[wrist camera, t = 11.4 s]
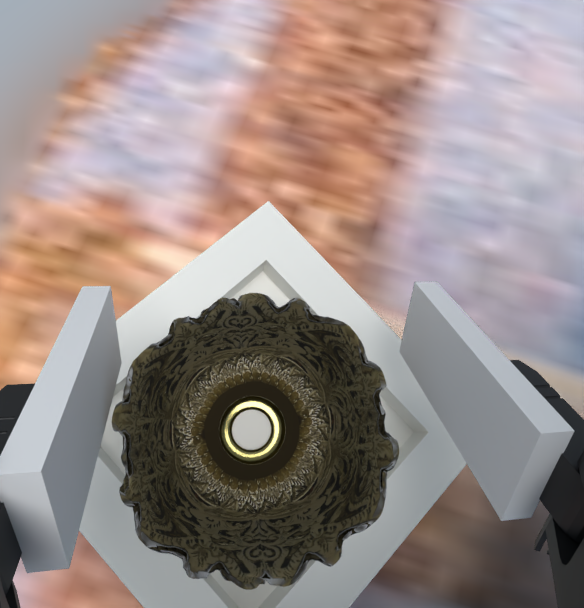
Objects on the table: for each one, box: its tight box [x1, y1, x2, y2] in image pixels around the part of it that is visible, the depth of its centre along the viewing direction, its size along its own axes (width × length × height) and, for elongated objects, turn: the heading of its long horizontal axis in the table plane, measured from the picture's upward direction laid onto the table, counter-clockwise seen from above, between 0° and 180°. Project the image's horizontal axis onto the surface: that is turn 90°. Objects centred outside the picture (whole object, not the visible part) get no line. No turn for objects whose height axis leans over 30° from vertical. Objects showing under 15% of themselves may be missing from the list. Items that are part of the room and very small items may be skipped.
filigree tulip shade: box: [112, 293, 399, 590], centre depth 16 cm, size 8×7×8 cm
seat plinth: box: [79, 201, 467, 608], centre depth 20 cm, size 14×14×4 cm
